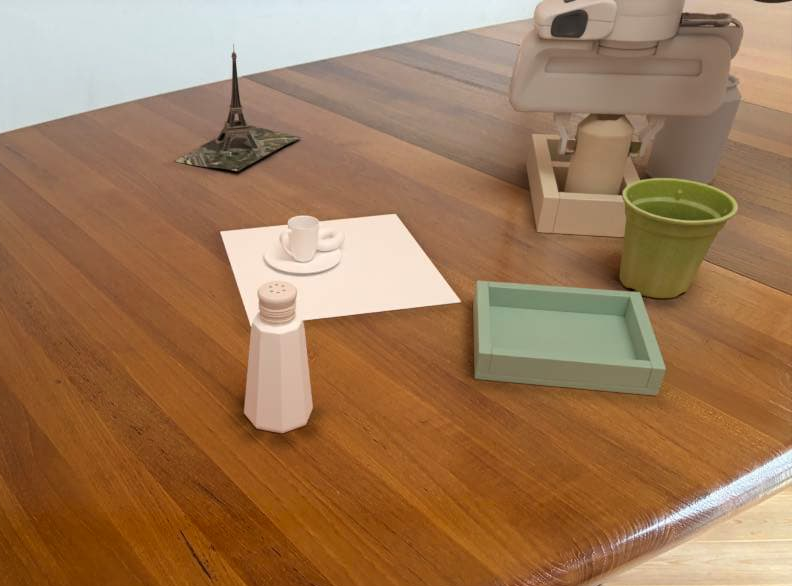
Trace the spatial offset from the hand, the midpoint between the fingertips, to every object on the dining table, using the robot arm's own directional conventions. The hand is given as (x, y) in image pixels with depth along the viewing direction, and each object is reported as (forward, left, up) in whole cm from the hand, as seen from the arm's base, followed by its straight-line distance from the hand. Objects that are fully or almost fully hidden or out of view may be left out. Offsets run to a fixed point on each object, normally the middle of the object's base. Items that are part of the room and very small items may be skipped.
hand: (599, 154), depth 87 cm
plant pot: (-5, +15, -7) cm, 17 cm away
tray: (+5, +28, -7) cm, 29 cm away
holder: (0, -4, -7) cm, 8 cm away
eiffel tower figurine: (+42, -14, -7) cm, 45 cm away
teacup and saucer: (+26, +16, -7) cm, 31 cm away
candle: (0, 0, -6) cm, 6 cm away
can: (-12, -11, -7) cm, 18 cm away
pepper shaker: (+27, +41, -7) cm, 49 cm away
